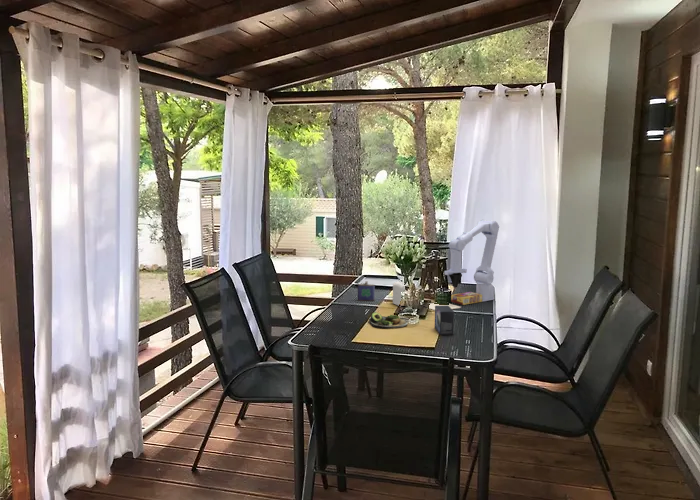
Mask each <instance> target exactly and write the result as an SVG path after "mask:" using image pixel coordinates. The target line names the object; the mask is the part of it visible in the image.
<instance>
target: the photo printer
mask: <svg viewBox="0 0 700 500" xmlns="http://www.w3.org/2000/svg"><path fill="white" fill-rule="evenodd" d="M404 284H405V283H404V282H402V281H396V282H394V283H393V284H392V304H394V305H396V306H399V304H400V301H401V292H402V291H403V290H405V286H407V285H406V284H405V285H404ZM399 307H400V306H399Z"/></svg>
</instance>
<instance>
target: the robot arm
mask: <svg viewBox="0 0 700 500" xmlns="http://www.w3.org/2000/svg"><path fill="white" fill-rule="evenodd" d="M476 224H477V225H475V226H474V227H473V228H472V229H470V231H464V232H462V233H461V234H460V235H459V236H457V237H456V238H453V239H451V240H450V241H449V243H448V248H449V252H450V262H449V263H450V268H449V269H448V270H444V272H443V273H444V275H445V276H449V278H450V281H451V284H452V288H458V286H459V282H460V280H461V278H462V277H463V274H466V273H467V268H462V262H463V261H462V260H463V259H462V257H463V251H464V249H465V247H466V246H467V245H468V244H469V243H470V242H472V241H473V238H474V237H476V236H477V235H478V234H480V233H482V234H483V236H485V237H486V239H485V244H484V248H483V253H482V258H481V263H480V266H478V267H476V269H475V272H474V274H473V280H474V281H475V284H476V289H475V290H476V291H475V293H477V294H481V295H482V302H487V301H493V300H495V298H494V292H495V291H494V290H495V288H494V285H493V283H494V282H493V281H494V278H495V277H494V273H495V272H494V270H493V269H492V268H491V267H492V262H493V258H494V253H495V249H496V248H495V247H496V246H497V245H496V244H497V239H498V234H499V231H500V230H499V229H500V226H499V225H500V224H499V223H498V222H497V221H496V220H485V219H481V220H480V221H477V223H476Z"/></svg>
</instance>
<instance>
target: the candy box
mask: <svg viewBox="0 0 700 500" xmlns="http://www.w3.org/2000/svg"><path fill="white" fill-rule="evenodd" d="M450 297H451V299H450V302H451V303H454V304H458V305H462V306H465V305H469V304H470V305H471V304H478V303H482V302H483V301H482V295H481V294H477V293H476V292H472V291H466V292H460V293H455V294H451V296H450Z"/></svg>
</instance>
